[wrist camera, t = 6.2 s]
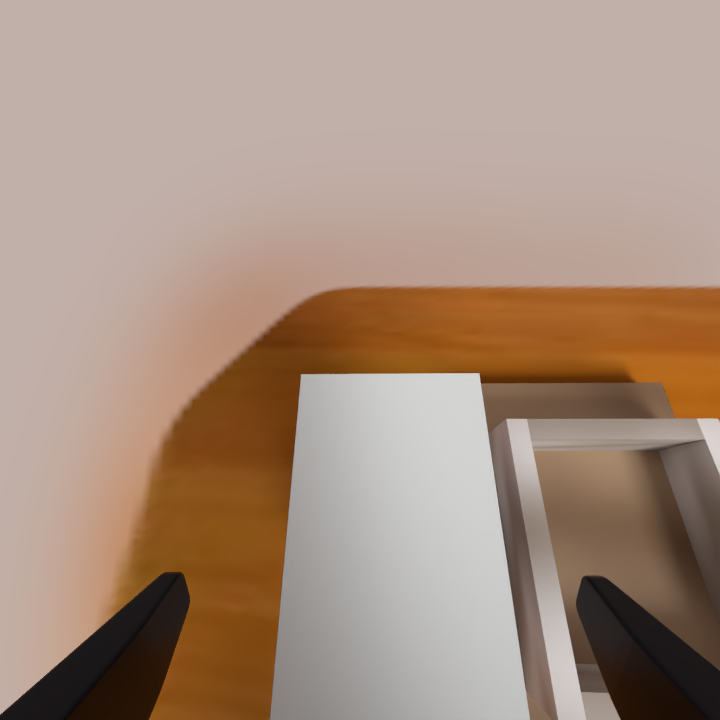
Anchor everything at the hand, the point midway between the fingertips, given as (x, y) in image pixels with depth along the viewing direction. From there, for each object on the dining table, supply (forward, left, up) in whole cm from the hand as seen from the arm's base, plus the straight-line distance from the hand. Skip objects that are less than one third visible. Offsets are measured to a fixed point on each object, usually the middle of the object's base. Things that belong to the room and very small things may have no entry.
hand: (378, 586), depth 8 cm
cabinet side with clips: (+4, -8, -8) cm, 12 cm away
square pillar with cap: (+1, 0, -8) cm, 8 cm away
